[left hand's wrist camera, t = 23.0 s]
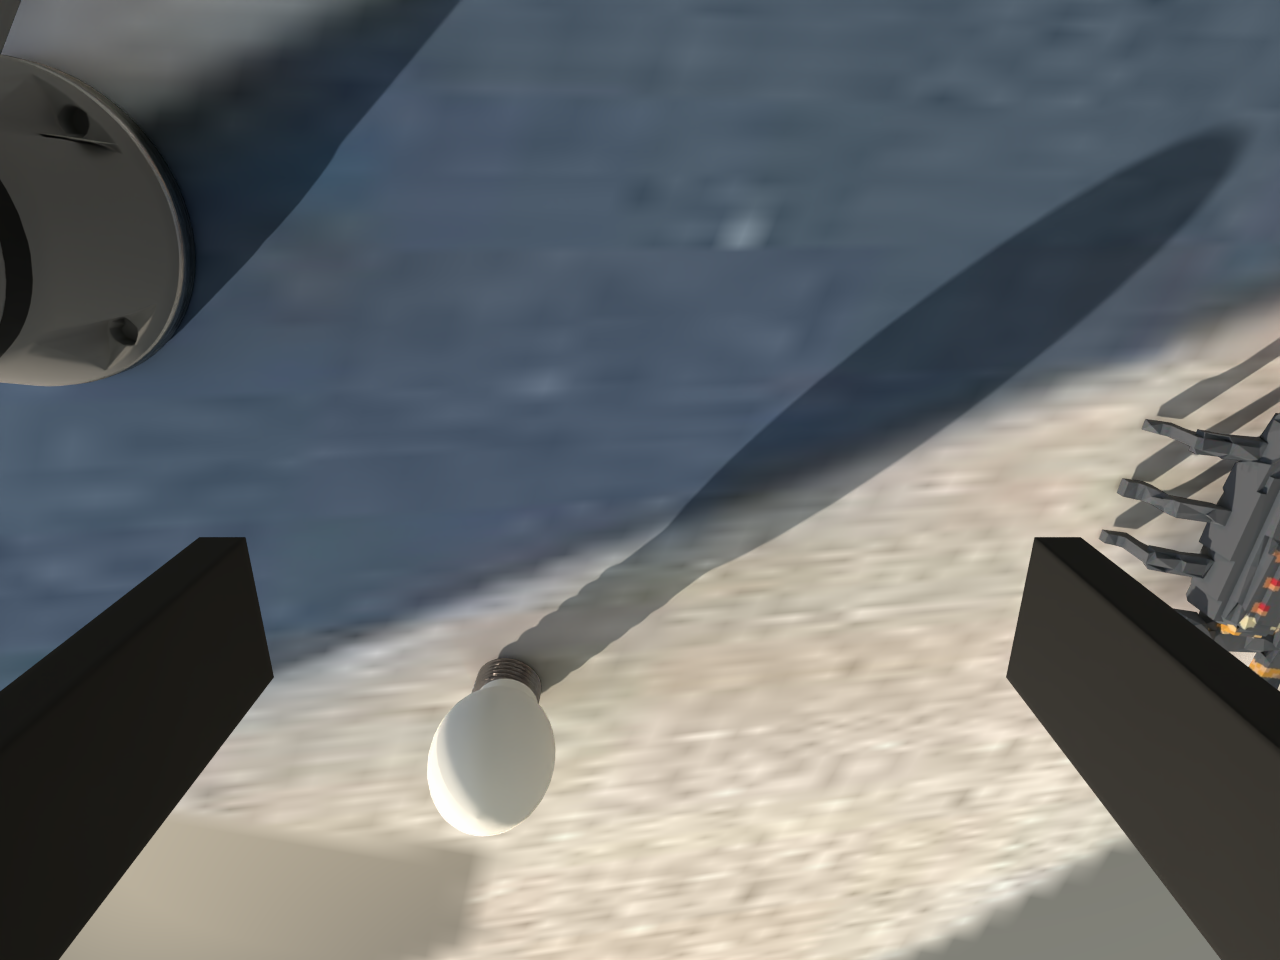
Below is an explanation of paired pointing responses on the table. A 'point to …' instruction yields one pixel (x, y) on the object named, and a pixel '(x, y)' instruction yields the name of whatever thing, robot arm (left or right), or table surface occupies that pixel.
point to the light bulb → (493, 752)
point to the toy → (1226, 543)
